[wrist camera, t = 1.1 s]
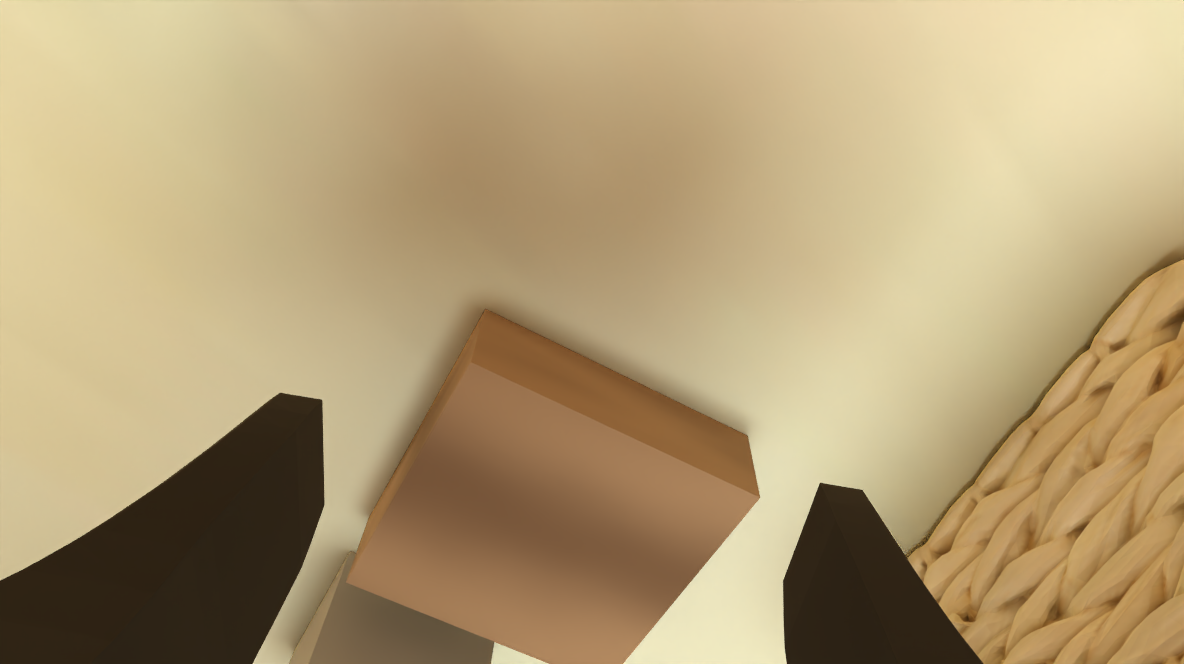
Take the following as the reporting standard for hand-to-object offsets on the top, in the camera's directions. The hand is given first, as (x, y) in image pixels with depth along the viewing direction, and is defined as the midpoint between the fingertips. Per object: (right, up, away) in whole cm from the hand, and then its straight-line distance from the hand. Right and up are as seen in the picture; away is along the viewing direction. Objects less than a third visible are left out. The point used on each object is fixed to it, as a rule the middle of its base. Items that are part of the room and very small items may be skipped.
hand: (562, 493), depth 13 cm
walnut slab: (-1, -2, +13) cm, 13 cm away
